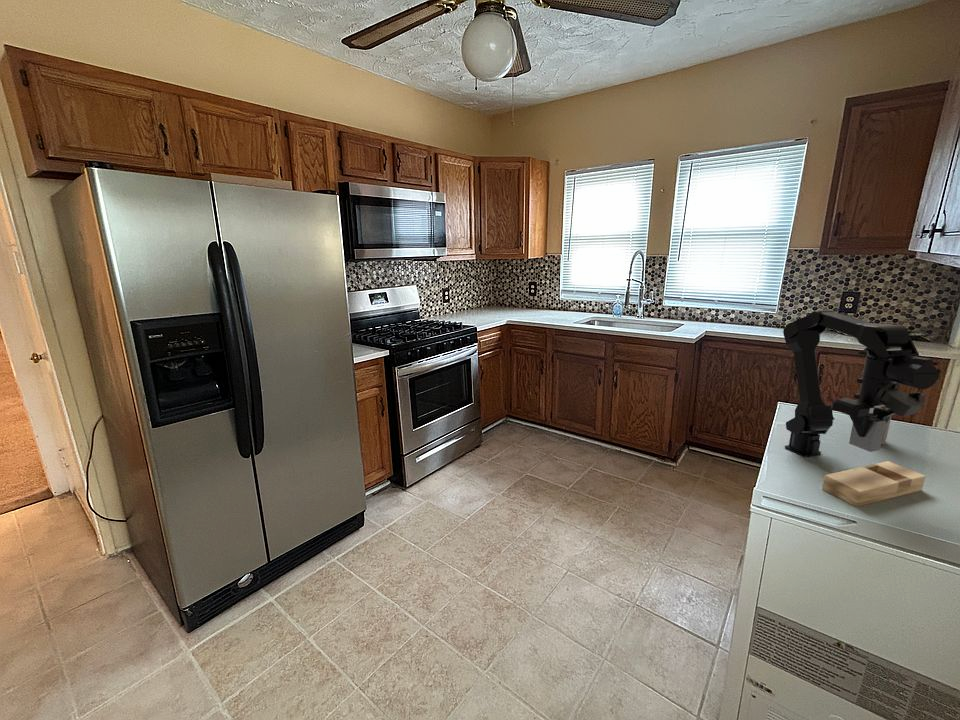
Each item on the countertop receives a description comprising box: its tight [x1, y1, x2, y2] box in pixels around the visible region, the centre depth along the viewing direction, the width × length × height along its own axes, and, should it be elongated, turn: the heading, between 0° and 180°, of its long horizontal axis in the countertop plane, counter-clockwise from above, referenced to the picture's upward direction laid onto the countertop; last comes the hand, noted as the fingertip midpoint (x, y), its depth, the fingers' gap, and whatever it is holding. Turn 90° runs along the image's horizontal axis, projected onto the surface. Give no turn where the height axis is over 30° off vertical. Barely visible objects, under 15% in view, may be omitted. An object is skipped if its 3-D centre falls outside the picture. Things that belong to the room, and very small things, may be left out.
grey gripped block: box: [848, 417, 886, 453], centre depth 106 cm, size 5×3×8 cm, turn 13°
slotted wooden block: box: [821, 460, 927, 508], centre depth 106 cm, size 8×22×4 cm, turn 105°
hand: (866, 435), depth 106 cm, fingers closed on grey gripped block, 3 cm apart
